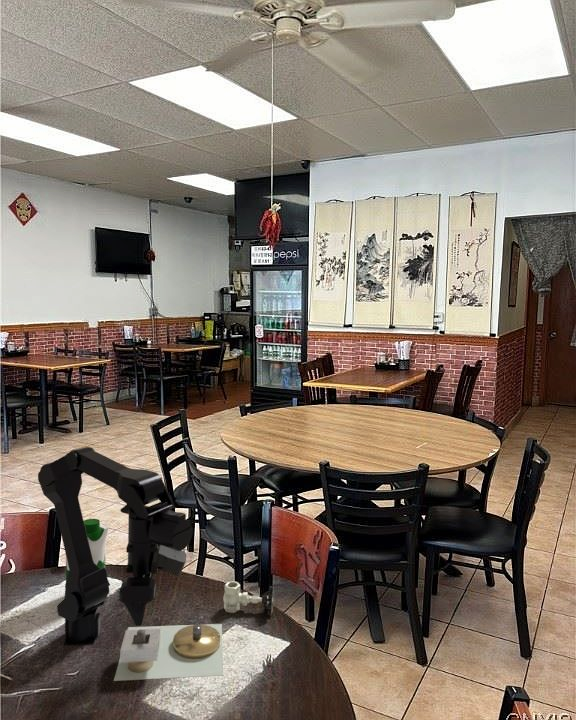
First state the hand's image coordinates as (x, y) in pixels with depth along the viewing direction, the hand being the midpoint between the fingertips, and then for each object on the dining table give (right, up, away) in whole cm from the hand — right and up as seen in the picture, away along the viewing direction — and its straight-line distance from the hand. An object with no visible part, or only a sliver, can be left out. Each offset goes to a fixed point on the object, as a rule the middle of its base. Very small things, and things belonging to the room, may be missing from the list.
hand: (141, 612), depth 111 cm
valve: (+20, -11, +23) cm, 32 cm away
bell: (+10, -11, +8) cm, 17 cm away
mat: (+5, -11, +6) cm, 14 cm away
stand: (0, -11, +1) cm, 11 cm away
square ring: (0, -8, +1) cm, 8 cm away
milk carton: (-21, -9, +26) cm, 35 cm away
